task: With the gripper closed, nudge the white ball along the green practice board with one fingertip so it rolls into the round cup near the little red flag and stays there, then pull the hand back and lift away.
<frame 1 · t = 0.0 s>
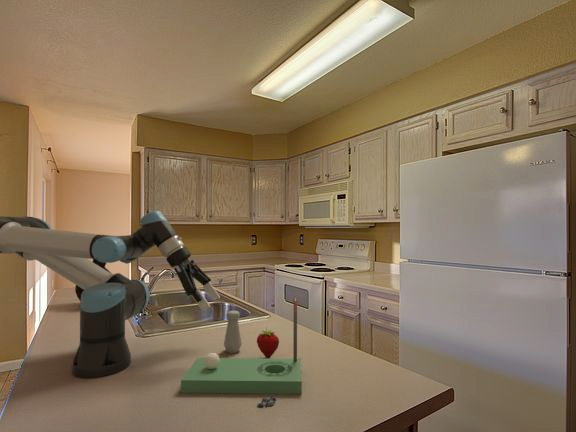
hand: (212, 304, 111), 15 cm above the counter, tool tilted 35°, fingers open, 13 cm apart
ceramic vessel: (96, 306, 170), on the counter
salt shaker: (232, 351, 110), on the counter
strawberry: (267, 359, 104), on the counter
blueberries: (266, 404, 79), on the counter
practice board: (245, 379, 90), on the counter
white ball: (211, 360, 90), point 5 cm above the counter, touching practice board
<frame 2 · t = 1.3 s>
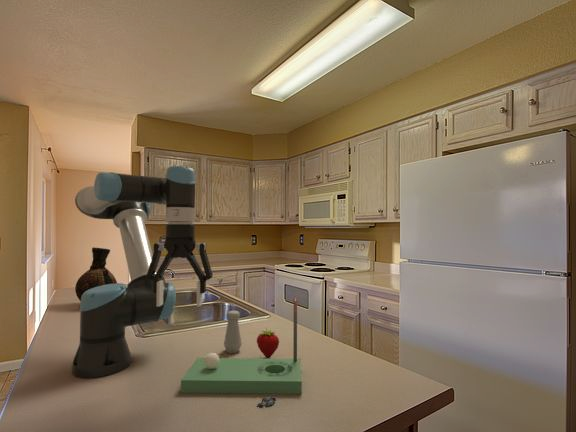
hand: (179, 305, 91), 20 cm above the counter, tool pointing down, fingers open, 10 cm apart
nothing on the counter moved.
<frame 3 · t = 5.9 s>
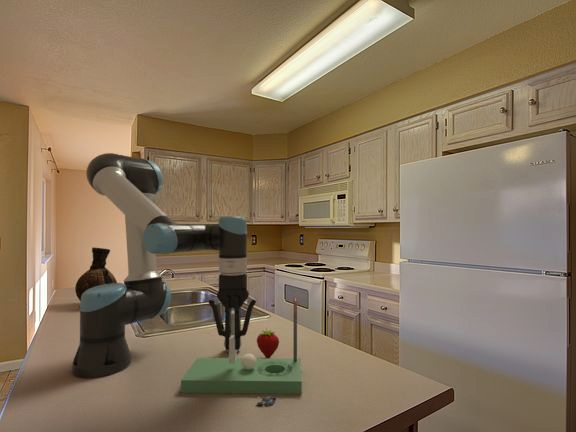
hand: (232, 361, 90), 5 cm above the counter, tool pointing down, fingers closed
white ball: (248, 361, 90), point 5 cm above the counter, tilted 76°, touching practice board
everything else where it was.
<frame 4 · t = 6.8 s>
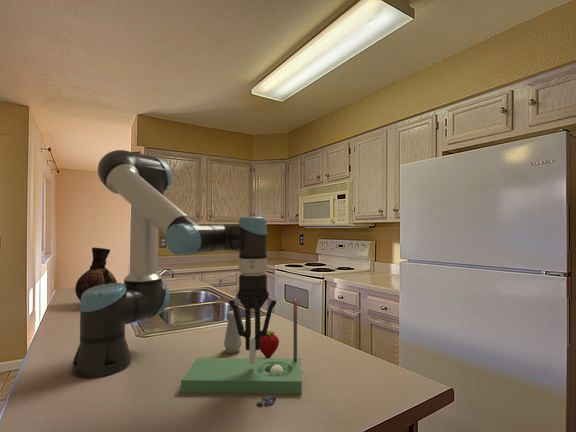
hand: (252, 361, 90), 5 cm above the counter, tool pointing down, fingers closed
white ball: (277, 372, 90), point 2 cm above the counter, tilted 164°
everything else where it was.
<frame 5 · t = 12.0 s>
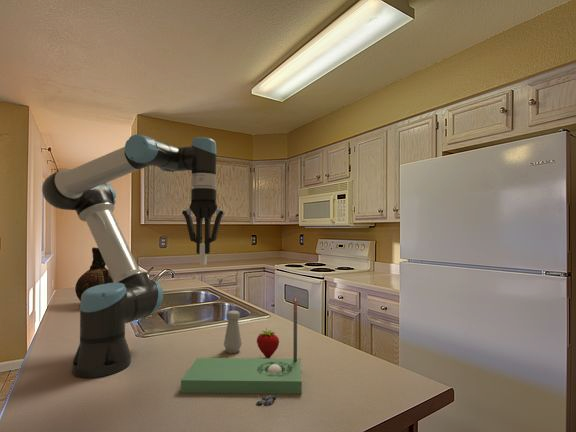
hand: (203, 264, 103), 29 cm above the counter, tool pointing down, fingers closed
white ball: (274, 372, 90), point 2 cm above the counter, tilted 143°
everything else where it was.
at the end: white ball 0.2 cm from the target spot on the practice board, point 2.0 cm above the practice board's base; the gripper is holding nothing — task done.
